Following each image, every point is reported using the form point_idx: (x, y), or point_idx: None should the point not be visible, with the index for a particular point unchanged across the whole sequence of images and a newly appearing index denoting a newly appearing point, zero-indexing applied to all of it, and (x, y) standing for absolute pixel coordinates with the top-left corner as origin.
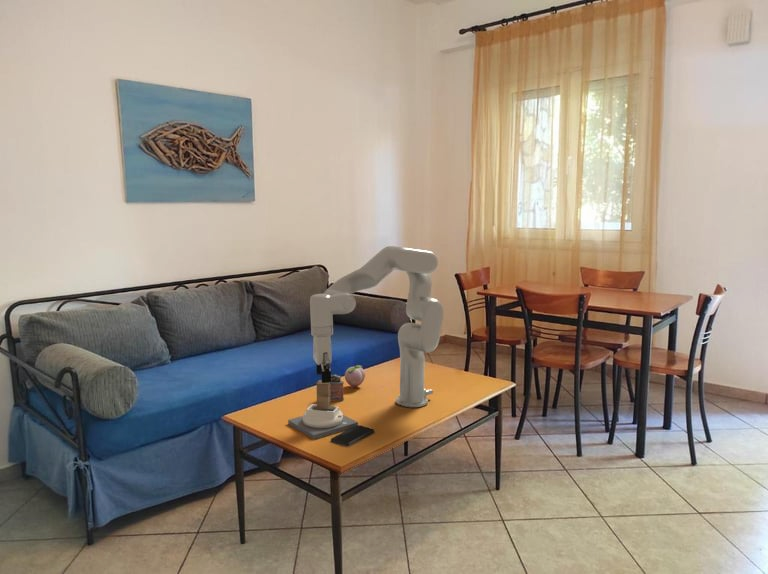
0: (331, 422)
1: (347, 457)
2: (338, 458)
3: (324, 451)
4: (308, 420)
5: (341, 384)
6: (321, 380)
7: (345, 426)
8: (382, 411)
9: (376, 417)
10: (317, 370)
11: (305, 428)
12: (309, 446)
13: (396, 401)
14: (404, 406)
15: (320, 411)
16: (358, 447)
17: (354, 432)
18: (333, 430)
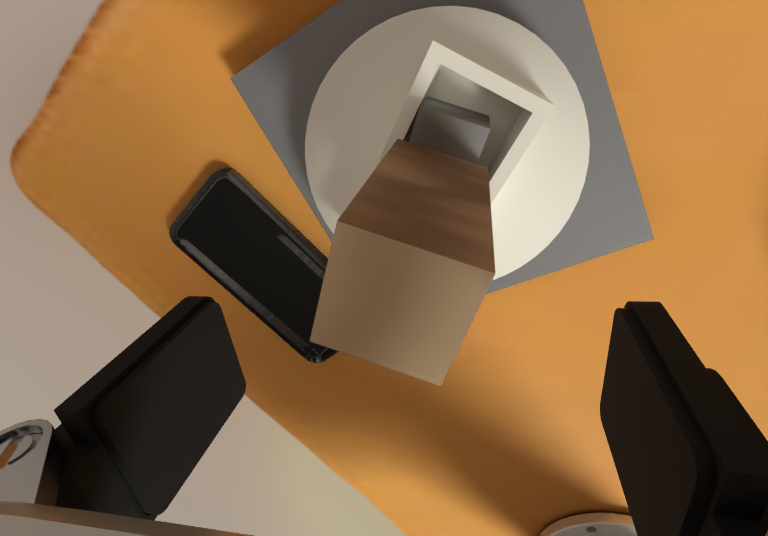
0: (320, 205)
1: (79, 211)
2: (63, 175)
3: (114, 122)
4: (351, 54)
5: None
6: (466, 300)
7: None
8: (545, 443)
9: (478, 404)
10: (636, 351)
11: (333, 27)
12: (157, 44)
13: (622, 520)
14: (561, 519)
15: (379, 160)
16: (172, 268)
17: (298, 286)
18: (308, 199)
